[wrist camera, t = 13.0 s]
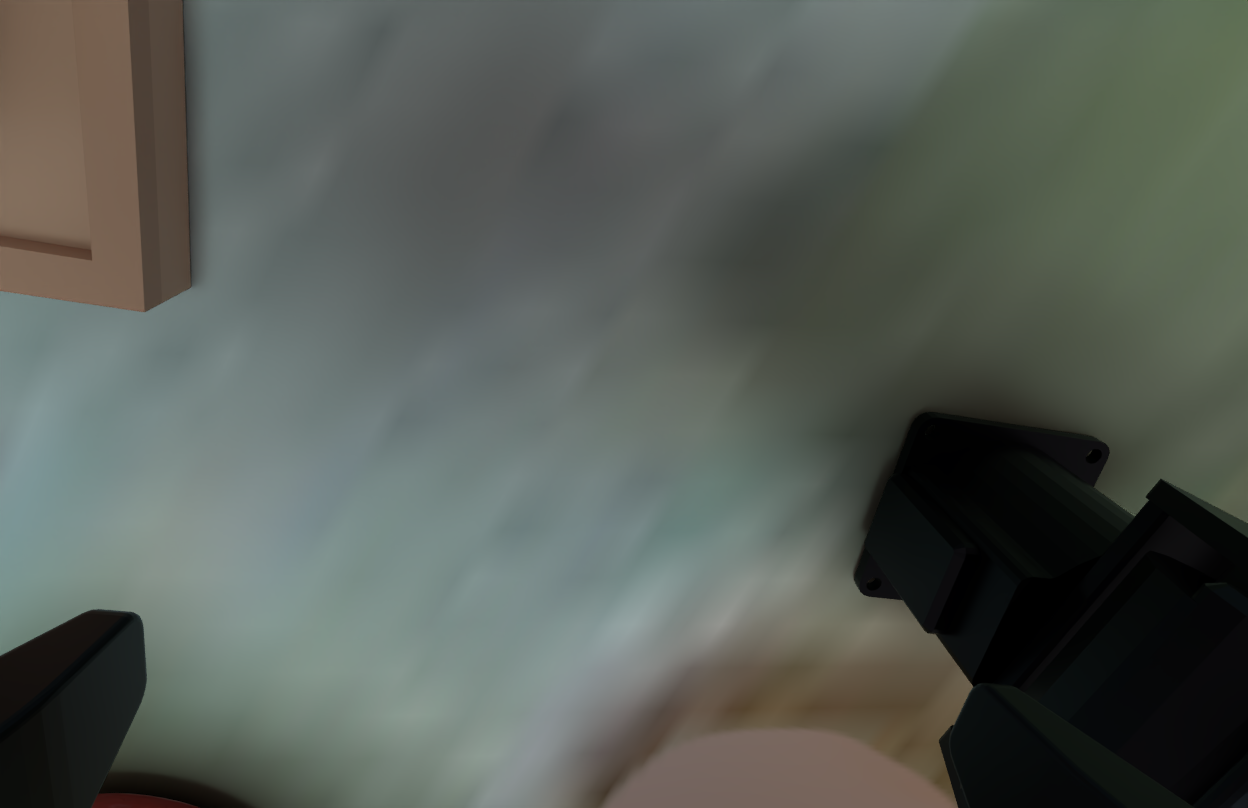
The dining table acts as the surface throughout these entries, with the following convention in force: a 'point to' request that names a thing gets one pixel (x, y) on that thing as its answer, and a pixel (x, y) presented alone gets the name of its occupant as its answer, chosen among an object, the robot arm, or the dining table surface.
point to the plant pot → (136, 801)
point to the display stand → (93, 151)
